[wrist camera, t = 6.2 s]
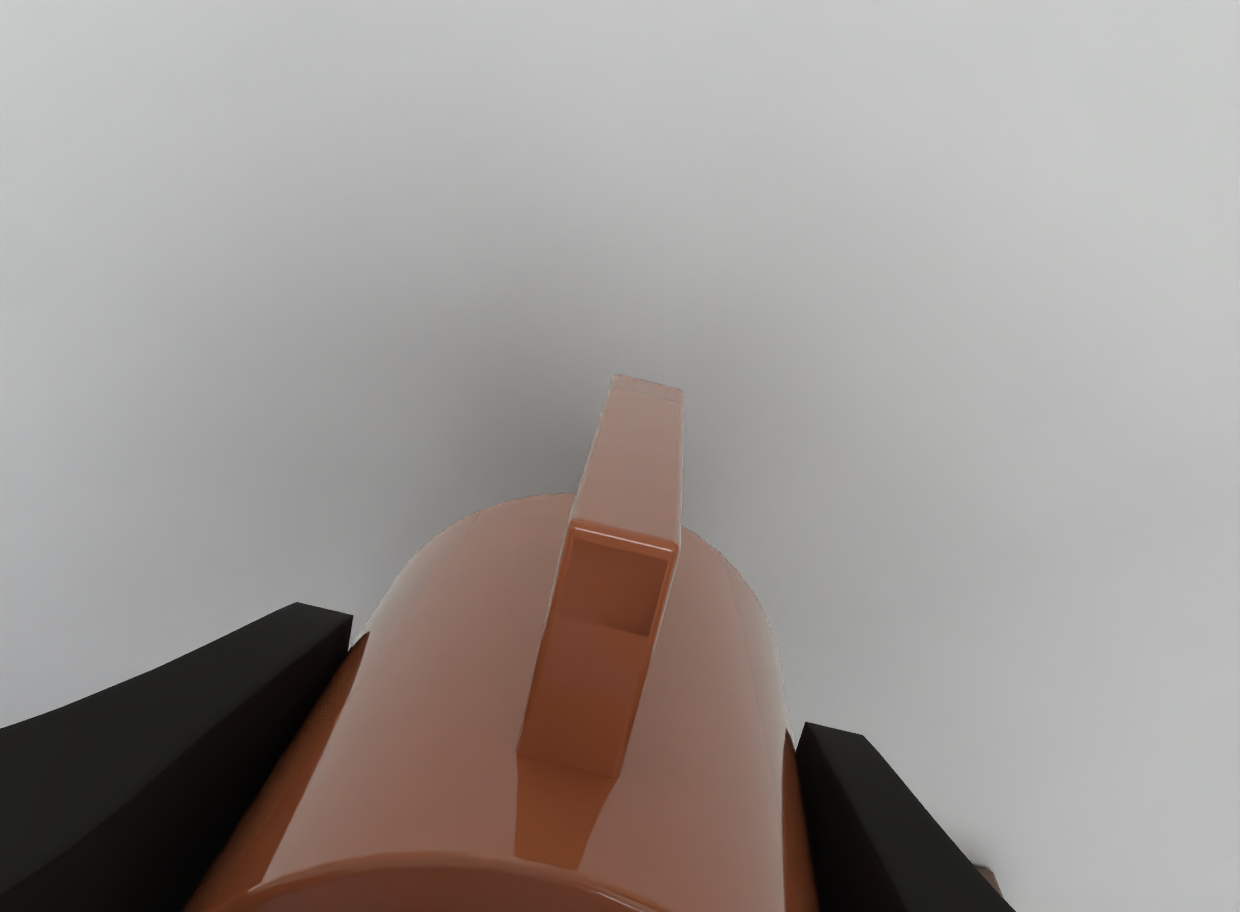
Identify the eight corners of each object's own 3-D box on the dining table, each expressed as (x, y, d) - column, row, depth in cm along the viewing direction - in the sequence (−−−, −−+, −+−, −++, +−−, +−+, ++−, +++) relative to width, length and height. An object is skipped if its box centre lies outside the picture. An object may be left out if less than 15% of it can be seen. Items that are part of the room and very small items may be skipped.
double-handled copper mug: (333, 866, 13) (58, 1439, 7) (429, 299, 11) (137, 498, 5) (704, 952, 13) (713, 1590, 7) (877, 406, 11) (1083, 722, 5)
